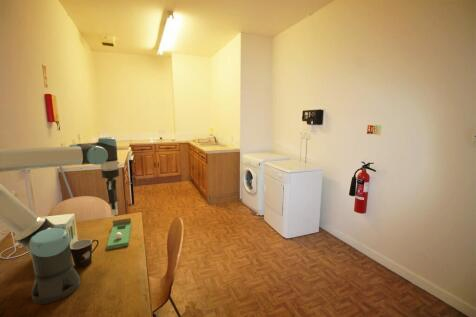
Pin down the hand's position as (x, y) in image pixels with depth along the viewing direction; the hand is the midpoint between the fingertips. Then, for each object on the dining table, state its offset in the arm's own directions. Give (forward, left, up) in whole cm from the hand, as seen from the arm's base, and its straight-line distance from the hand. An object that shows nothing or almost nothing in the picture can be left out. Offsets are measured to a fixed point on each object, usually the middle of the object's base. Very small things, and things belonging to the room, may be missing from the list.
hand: (114, 214), depth 120 cm
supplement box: (+6, +27, -19) cm, 33 cm away
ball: (+6, 0, -15) cm, 16 cm away
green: (+13, 0, -18) cm, 23 cm away
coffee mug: (-9, +12, -19) cm, 24 cm away
